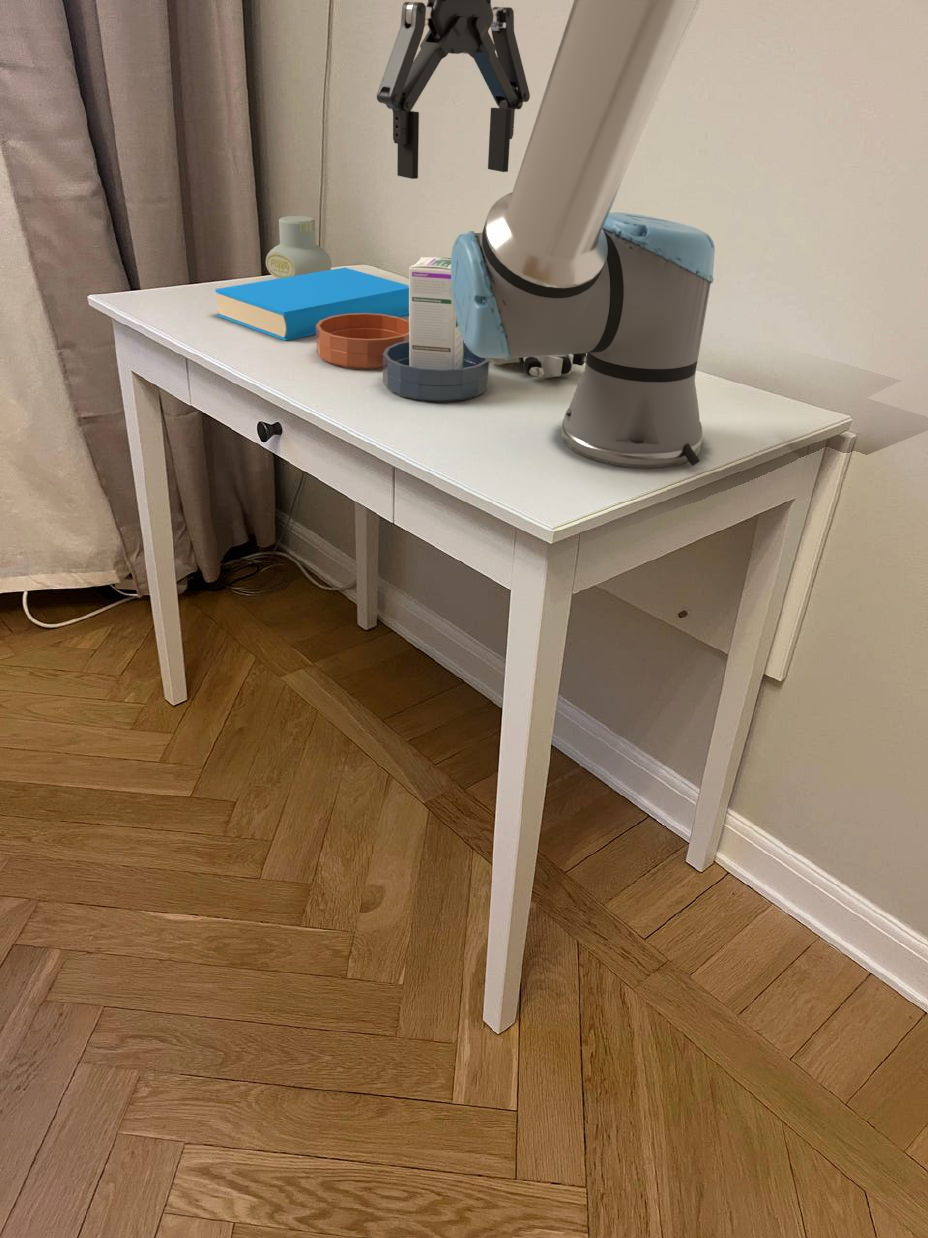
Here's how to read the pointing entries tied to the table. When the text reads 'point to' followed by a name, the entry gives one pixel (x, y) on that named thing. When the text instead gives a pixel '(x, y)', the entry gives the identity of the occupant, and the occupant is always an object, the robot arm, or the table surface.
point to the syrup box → (433, 317)
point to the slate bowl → (434, 377)
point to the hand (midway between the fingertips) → (454, 173)
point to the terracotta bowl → (359, 338)
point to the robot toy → (546, 364)
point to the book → (310, 301)
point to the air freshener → (297, 249)
